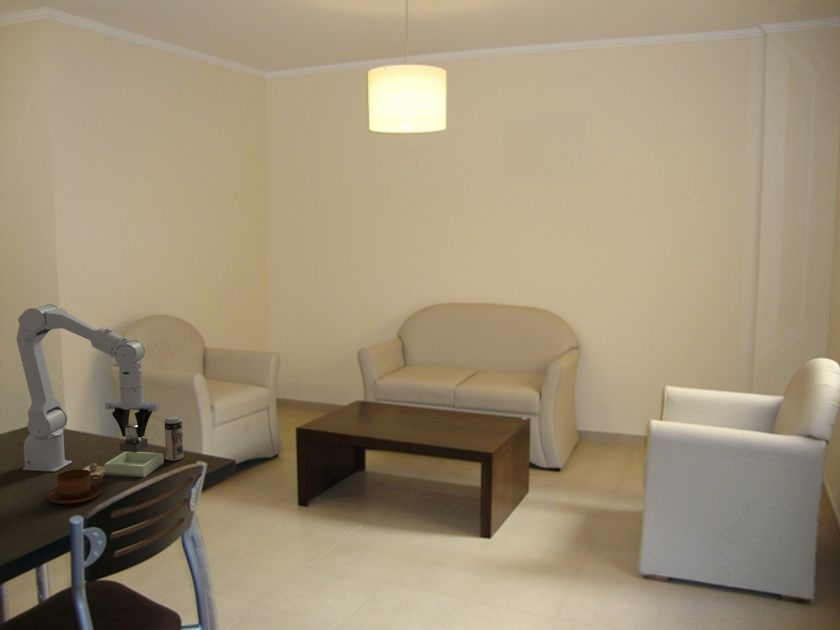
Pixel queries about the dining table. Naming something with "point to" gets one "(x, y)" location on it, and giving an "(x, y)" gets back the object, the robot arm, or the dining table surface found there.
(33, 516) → the dining table surface
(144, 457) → the tray
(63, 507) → the dining table surface
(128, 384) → the robot arm
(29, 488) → the dining table surface
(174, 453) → the lidded jar
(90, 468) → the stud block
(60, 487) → the cup and saucer
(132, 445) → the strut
